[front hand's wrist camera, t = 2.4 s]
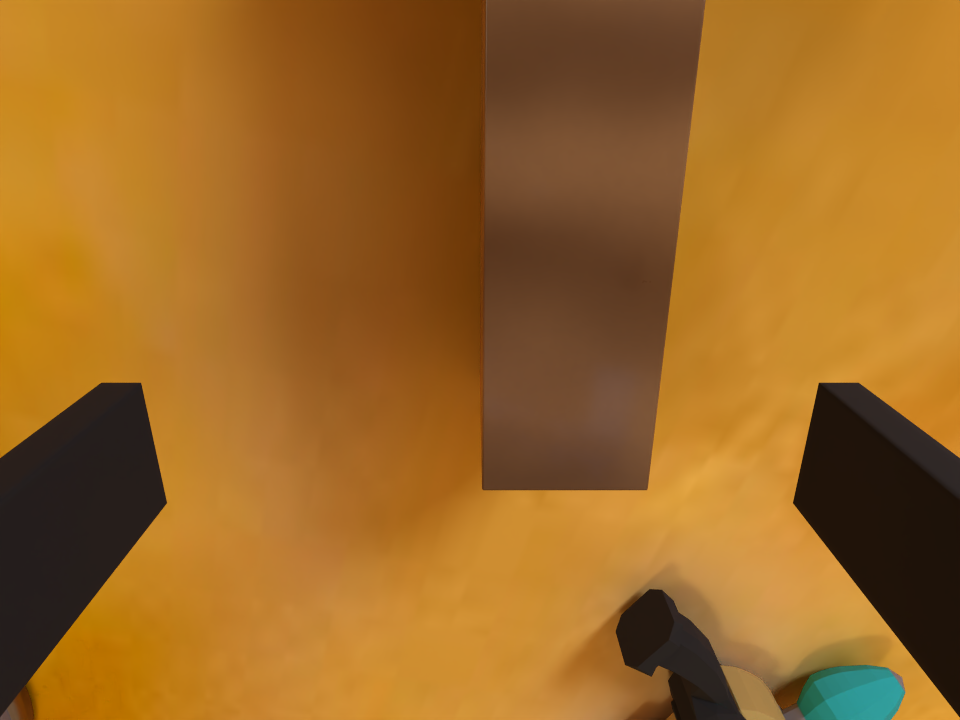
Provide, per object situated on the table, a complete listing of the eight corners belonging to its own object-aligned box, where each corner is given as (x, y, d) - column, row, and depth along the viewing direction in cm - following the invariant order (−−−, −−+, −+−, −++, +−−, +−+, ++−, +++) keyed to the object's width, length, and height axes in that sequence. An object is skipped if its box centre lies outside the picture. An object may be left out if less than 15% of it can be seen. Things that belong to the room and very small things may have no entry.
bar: (599, 381, 31) (647, 490, 22) (480, 381, 31) (482, 490, 22) (651, -272, 22) (768, -520, 13) (483, -274, 22) (488, -524, 13)
